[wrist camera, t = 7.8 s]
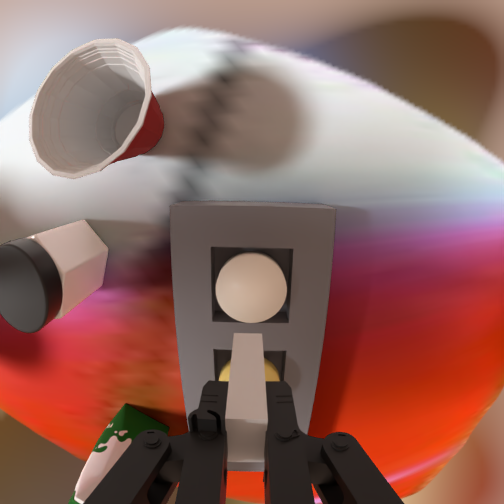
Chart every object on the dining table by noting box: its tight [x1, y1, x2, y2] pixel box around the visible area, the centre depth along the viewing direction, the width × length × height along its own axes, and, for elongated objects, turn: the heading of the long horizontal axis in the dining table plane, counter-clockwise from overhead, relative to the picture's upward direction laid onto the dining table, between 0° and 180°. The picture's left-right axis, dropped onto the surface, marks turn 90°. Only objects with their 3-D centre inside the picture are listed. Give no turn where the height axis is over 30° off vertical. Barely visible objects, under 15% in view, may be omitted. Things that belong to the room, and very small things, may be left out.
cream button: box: [216, 251, 287, 323], centre depth 27 cm, size 6×6×2 cm
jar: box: [0, 220, 109, 333], centre depth 26 cm, size 9×8×12 cm
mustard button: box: [219, 358, 280, 381], centre depth 28 cm, size 6×6×2 cm
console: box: [170, 201, 336, 471], centre depth 32 cm, size 14×34×5 cm, turn 179°
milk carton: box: [68, 403, 169, 504], centre depth 28 cm, size 9×9×20 cm
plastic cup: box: [29, 38, 164, 179], centre depth 22 cm, size 11×11×12 cm
